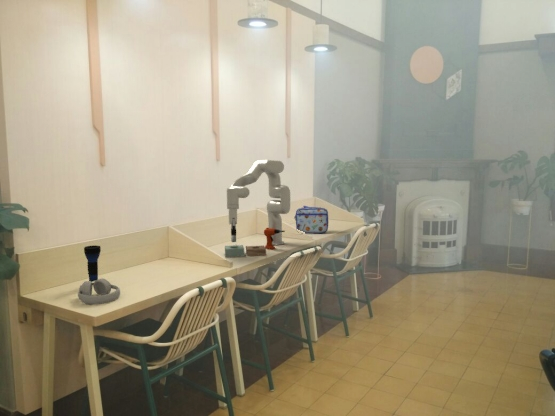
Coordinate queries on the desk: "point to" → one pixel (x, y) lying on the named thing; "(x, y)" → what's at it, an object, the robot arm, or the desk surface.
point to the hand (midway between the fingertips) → (233, 234)
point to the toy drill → (270, 237)
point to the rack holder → (234, 251)
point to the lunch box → (312, 219)
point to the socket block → (255, 250)
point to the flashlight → (92, 261)
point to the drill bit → (233, 237)
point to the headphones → (98, 292)
